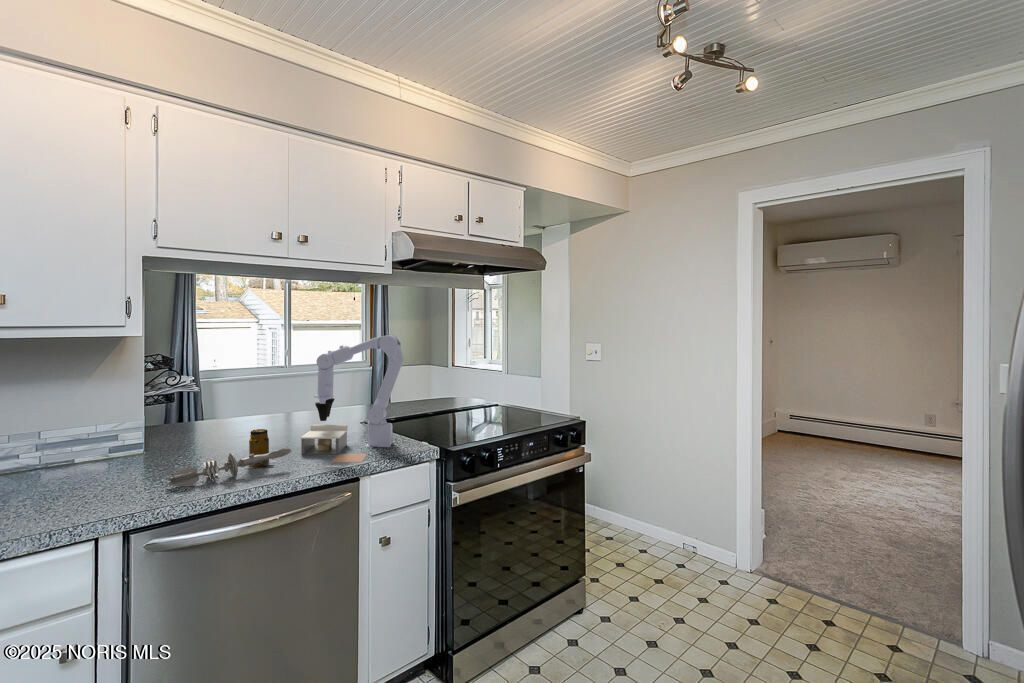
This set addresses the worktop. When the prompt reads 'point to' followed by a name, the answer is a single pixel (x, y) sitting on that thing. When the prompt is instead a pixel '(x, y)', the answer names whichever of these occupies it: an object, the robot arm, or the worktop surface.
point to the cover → (325, 432)
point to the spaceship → (221, 468)
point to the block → (324, 444)
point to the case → (311, 448)
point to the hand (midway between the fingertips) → (324, 418)
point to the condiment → (259, 446)
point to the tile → (350, 458)
